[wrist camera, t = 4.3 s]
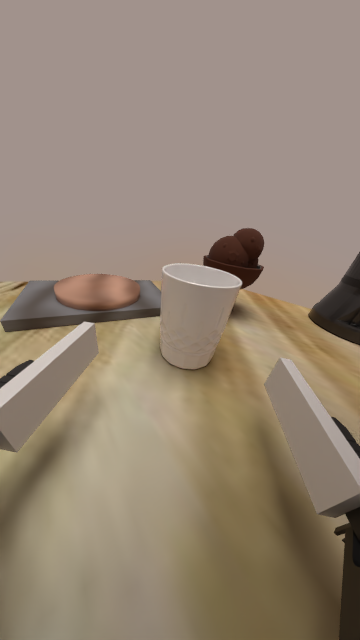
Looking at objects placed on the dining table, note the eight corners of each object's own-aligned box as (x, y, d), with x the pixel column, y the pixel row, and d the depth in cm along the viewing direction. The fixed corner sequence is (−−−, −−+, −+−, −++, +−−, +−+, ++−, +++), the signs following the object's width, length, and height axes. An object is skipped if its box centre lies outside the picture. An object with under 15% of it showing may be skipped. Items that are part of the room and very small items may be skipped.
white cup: (151, 334, 23) (156, 260, 18) (201, 331, 26) (218, 266, 21) (161, 379, 17) (173, 285, 12) (227, 369, 19) (260, 289, 14)
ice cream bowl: (232, 298, 41) (254, 230, 33) (255, 322, 31) (294, 234, 24) (190, 295, 39) (204, 221, 31) (202, 319, 29) (226, 222, 22)
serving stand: (149, 286, 40) (150, 274, 38) (173, 314, 29) (176, 298, 28) (32, 288, 30) (27, 272, 28) (5, 331, 19) (-6, 309, 18)
